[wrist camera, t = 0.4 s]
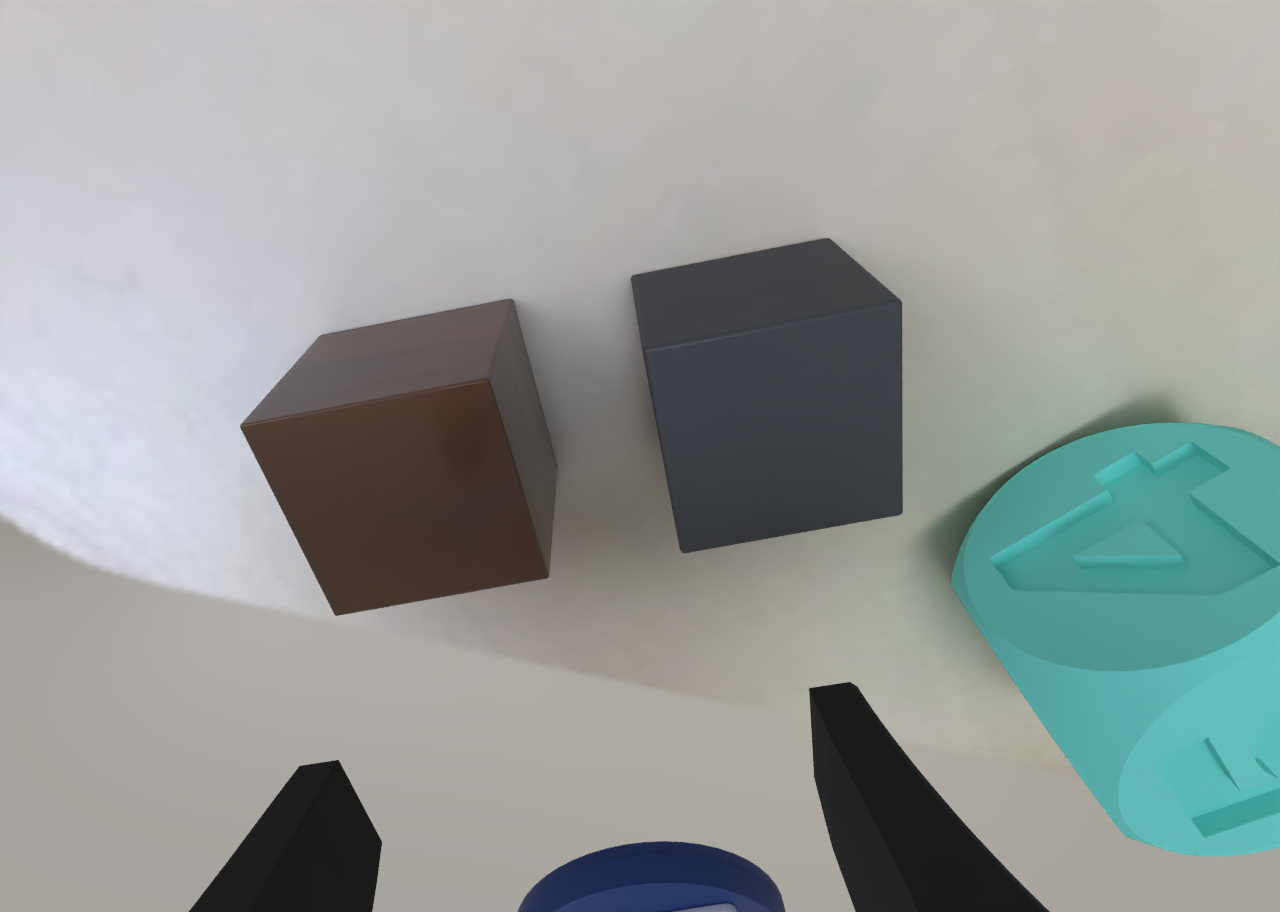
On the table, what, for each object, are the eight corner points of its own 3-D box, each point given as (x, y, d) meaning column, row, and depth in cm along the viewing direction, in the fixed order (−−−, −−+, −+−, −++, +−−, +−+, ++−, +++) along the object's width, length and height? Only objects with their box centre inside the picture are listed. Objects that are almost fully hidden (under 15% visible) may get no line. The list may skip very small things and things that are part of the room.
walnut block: (558, 466, 21) (549, 579, 17) (386, 498, 21) (334, 617, 17) (512, 298, 19) (488, 378, 14) (319, 335, 19) (238, 425, 15)
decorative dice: (913, 528, 23) (1052, 744, 16) (1166, 374, 21) (1455, 546, 14) (1019, 670, 26) (1173, 900, 19) (1247, 550, 24) (1512, 760, 17)
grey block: (839, 415, 21) (904, 516, 17) (662, 447, 21) (681, 555, 17) (829, 236, 18) (904, 300, 14) (630, 275, 19) (642, 349, 14)
